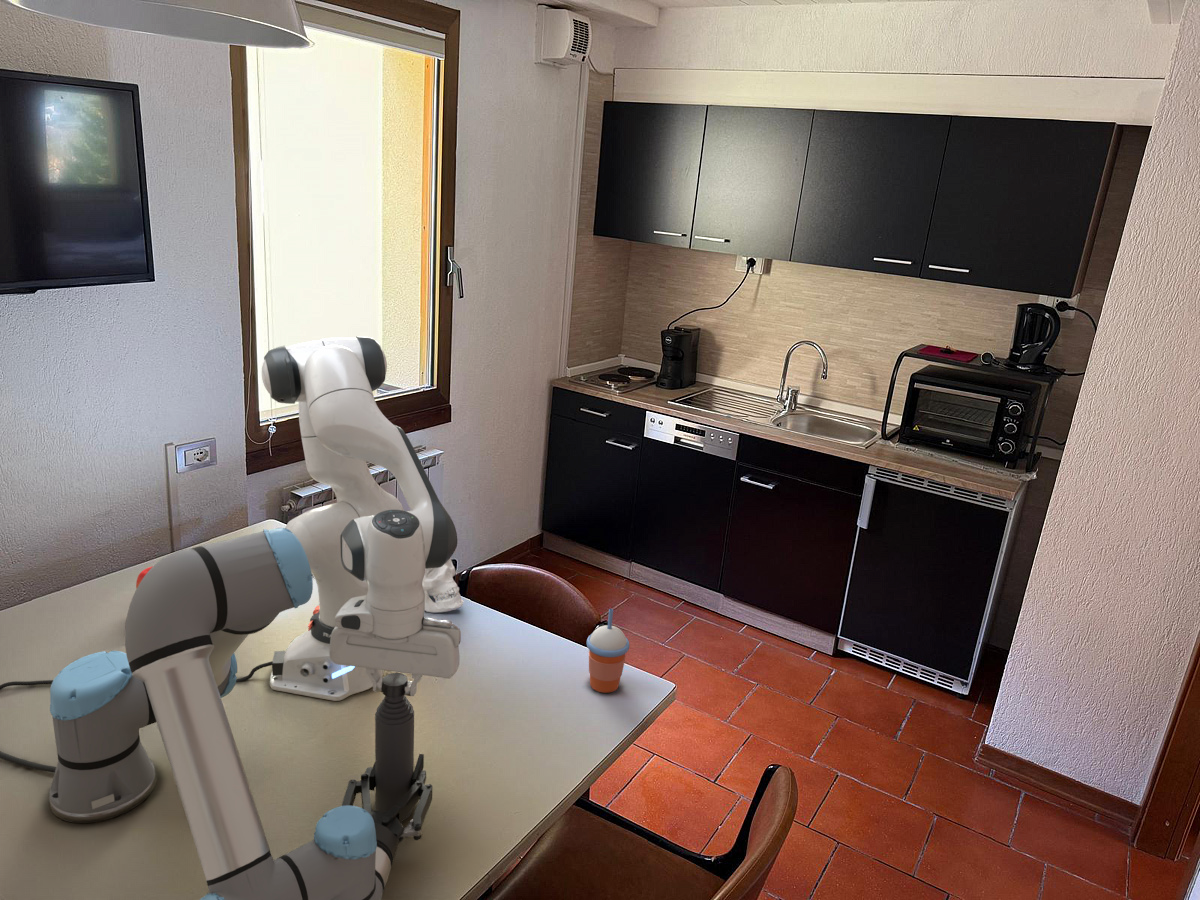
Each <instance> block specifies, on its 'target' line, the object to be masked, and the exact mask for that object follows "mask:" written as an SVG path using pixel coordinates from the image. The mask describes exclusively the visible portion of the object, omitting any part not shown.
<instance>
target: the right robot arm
mask: <svg viewBox="0 0 1200 900" xmlns="http://www.w3.org/2000/svg"><path fill="white" fill-rule="evenodd" d="M387 369H388V362H387V357H386V354H385V352H384V350H383V349H382V346H381V344H380V342H378V341H377V340H376V339H375V338H374V337H370V336H362V335H357V336H355V337H330V338H329V337H327V338H321V339H320V340H319V339H318V340H312V341H306V342H301V343H296V344H292V345H289V346H288V345H287V346H286V345H281V346H277V347H274V348H272V349H269V350H268V351H267V352H266V354H265V355H264V357H263V362H262V365H261V380H262V383H263V386H264V388H265V390H266V391H267V393H268V394H269V396H270V398H271V399H272V400H274V401H275V402H276V403H278V404H279V403H280V404H285V405H286V404H290V405H291V404H292V405H295V404H296V403H298V422H299V430H300V438H301V443H302V448H303V454H304V460H305V461H304V462H305V466H306V471H307V474H308V475H309V477H311V478H312V479H313V480H314V481H316V482H317V483H319V484H323V485H325V486H328V487H330V488H331V489H332V491H333V492H334V495H335V498H336V502H334V503H330V504H327V505H323V506H319V507H316V508H311V509H309V510H307V511H304V512H303V513H301V514H300V515H298V516H295V517H293V518H292V519H290V520H289V521H288V522H287V524H285V525H286V526H285V528H286V529H288V530H290V531H291V532H292V533H293V534H295V536H296V537H297V538H298V539H299V541H300V543H301V544H302V546H303V548H304V551H305V553H306V556H307V558H308V561H309V565H310V569H311V574H312V577H313V578H314V580H315V583H316V587H317V593H318V605H316V607H314V610H313V611H312V615H311V617H310V619H309V623H308V625H307V628H308V629H307V630H306V631H304V632H302V633H301V634H299V635H297V636H296V637H295V638H294V639H293V640H292V641H291V642H290V643H289V644H288V646H287V648H286V649H285V650H274V652H273V657H272V661H268V662H264V663H261V664H258V665H256V666H254V667H253V668H251V671H250V672H249V673H248V674H247V675H245V676H243V677H240V678H237V679H236V683H241V682H246V681H249V680H250V679H251V678H252V677H253V676H254V675H255V673H256V672H257V671H258V670H261V669H264V668H267V667H271V673H270V676H269V686H270V688H271V689H272V690H274V691H278V692H283V693H289V694H295V695H300V696H304V697H305V696H306V697H310V698H315V699H316V698H317V699H322V700H327V701H334V702H339V701H340V702H341V701H342V700H344V699H346V698H348V697H350V696H351V695H355V694H358V693H363V692H364V691H367V690H369V689H371V688H372V691H373V692H377V693H383V692H382V679H383V678H384V671H386V672H392V673H402V674H410V675H411V679H412V680H408V683H407V685H406V686H405V696H406V697H407V696H408V697H415V695H416V693H417V691H418V684H419V682H420V681H421V680H422V678H423V676H424V677H425V676H426V677H434V678H441V679H451V678H452V677H453V676H455V674H456V673H457V671H458V669H459V668H460V661H461V658H460V657H461V656H460V644H461V639H462V633H461V629H460V628H459V626H457V625H456V624H454V623H453V622H452V621H451V620H448V619H443V620H441V619H437V618H432V617H425V593H424V589H423V585H422V582H423V578H424V575H425V569H427V568H439V567H442V566H443V565H444V564H445V563H446V562H447V561H448V560H449V559H450V558H452V556H453V555H454V554H455V551H456V549H457V546H458V533H457V529H456V526H455V523H454V521H453V519H452V517H451V516H450V514H449V512H448V511H447V509H446V508H445V507H444V506H443V504H442V503H441V501H440V499H439V497H438V494H437V493H436V491H435V489H434V486H433V484H432V483H431V480H430V479H429V476H428V474H427V472H426V471H425V468H424V466H423V464H422V462H421V460H420V457H419V456H418V453H417V452H416V450H415V448H414V446H413V444H412V442H411V441H410V439H409V437H408V435H407V433H406V432H405V431H404V430H403V428H401V427H400V426H398V425H396V424H394V423H392V422H391V421H390V420H389V419H388V418H387V417H386V416H385V415H384V414H383V412H382V411H381V409H380V408H379V407H378V404H377V402H376V399H375V396H374V393H373V392H375V391H376V390H378V389H379V388H380V387H381V386H383V384H384V383H385V381H386V376H387V372H388V371H387ZM367 462H368V463H371V464H374V465H377V466H380V467H382V468H384V469H385V470H387V471H388V472H390V473H391V474H392V475H393V477H394V478H395V479H396V483H397V484H398V485H399V488H400V490H401V492H402V494H403V497H404V499H405V501H406V503H407V505H408V508H409V510H404V507H403V505H402V503H401V502H400V501H399V499H398V498H397V497H396V496H395V495H393V494H391V492H387V491H386V490H385V489H384V488H382V487H381V486H380V484H378V483H377V481H376V480H375V478H374V477H373V474H372V473H371V471H370V469H369V466H368V463H367ZM53 680H54V679H51V680H50V679H47V680H45V679H44V680H30V681H25V680H23V681H21V680H18V681H17V680H16V681H7V682H4V683H2V684H0V691H1V690H3V689H4V688H7V687H12V686H38V685H39V686H40V685H41V686H42V685H51V684H52V682H53Z"/></svg>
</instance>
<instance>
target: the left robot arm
mask: <svg viewBox="0 0 1200 900" xmlns="http://www.w3.org/2000/svg"><path fill="white" fill-rule="evenodd" d="M152 566H153V567H152ZM152 566H151V567H152V568H151V569H150V570H149V571H148V572H147V574H146V575H145V576H144V578H143V579H142V581H141V582H140V584H139V586H138V587H137V589H136V588H135V591H134V593H133V596H132V598H131V601H130V603H129V607H128V610H127V615H126V619H125V627H124V647H125V652H124V651H120V650H111V651H109V652H107V651H105V650H103V651H98V652H93V653H90V654H88V655H85V656H82V657H80V658H78V659H76V660H74V661H72V662H71V663H69V664H67V665H66V666H65V667H64V668H62V669H61V670H60V671H59V672H58V674H57V675H56V676H55V677H54V679H52V680H53V682H52V684H50V689H49V692H50V693H49V695H50V696H49V698H50V699H49V701H50V703H49V712H50V715H51V716H52V725H53V732H54V738H55V739H54V741H55V747H56V755H57V764H56V766H54V765H48V764H42V763H37V762H34V761H29V760H26V759H23V758H20V757H17V756H13V755H11V754H8V753H6V752H4V751H1V750H0V759H2V760H4V761H7V762H10V763H13V764H15V765H19V766H22V767H26V768H28V769H29V768H30V769H34V770H38V771H42V772H47V773H52V774H53V778H52V780H51V785H50V789H49V792H48V800H49V806H50V810H51V812H52V814H53V815H55V816H56V817H57V818H58V819H61V820H62V821H65V822H69V823H76V824H88V823H97V822H101V821H106V820H109V819H113V818H115V817H119V816H121V815H124V814H125V813H128V812H129V811H131V810H133V809H134V808H136V807H137V806H139V805H140V804H142V803H143V802H144V801H145V800H146V799H147V798H148V797H150V795H151V794H152V792H153V791H154V789H155V786H156V783H157V773H156V766H155V765H154V761H152V759H151V758H150V757H149V755H148V753H147V750H146V749H145V747H144V745H143V743H142V742H141V737H140V729H142V728H145V727H147V726H151V725H153V724H155V723H156V724H157V727H158V730H159V734H160V737H161V741H162V744H163V747H164V749H165V753H166V756H167V759H168V763H169V766H170V769H171V773H172V775H173V779H174V782H175V785H176V788H177V791H178V795H179V797H180V801H181V804H182V807H183V810H184V814H185V817H186V820H187V824H188V827H189V830H190V832H191V837H192V839H193V843H194V845H195V849H196V852H197V856H198V859H199V862H200V864H201V868H202V871H203V875H204V877H205V882H206V885H207V889H208V893H206V894H205V895H204V896H203V897H201V898H200V899H199V900H382V899H383V895H384V892H385V888H386V885H387V882H388V879H389V876H390V873H391V869H392V867H393V864H394V860H395V857H396V854H397V851H398V848H399V845H400V844H401V842H403V840H404V839H405V838H408V837H409V838H411V837H413V841H420V840H421V839H422V828H423V827H422V826H423V824H424V822H425V819H426V816H427V815H428V814H427V813H428V812H429V808H430V806H431V803H432V800H433V785H432V783H427V784H426V782H427V771H426V770H424V766H425V764H424V763H425V761H424V760H425V754H424V753H419V754H418V757H417V759H416V764H415V767H414V772H413V776H412V779H411V788H410V789H409V790H408V792H407V793H406V794H405V795H404V796H403V798H402V799H401V800H400V801H399V802H398V804H397V805H396V806H395V805H394V806H393V807H392V808H391V810H390V811H389V812H388V811H386V812H379V811H375V810H373V809H372V799H371V791H374V792H375V762H374V763H373V766H368V767H367V768H365V771H364V773H362V774H360V780H356V779H350V780H349V781H348V782H347V787H346V789H345V793H344V796H343V799H342V802H341V805H340V806H336V807H334V808H331V809H329V810H327V811H326V812H325V813H324V814H323V815H322V817H321V818H320V819H319V820H318V821H317V822H316V826H315V831H314V833H313V839H311V840H310V841H308V842H306V843H304V844H302V845H299V846H298V847H297V848H295V849H292V850H291V851H289V852H287V853H285V854H283V855H281V856H279V857H277V858H275V859H274V858H273V855H272V853H271V847H270V845H269V842H268V839H267V835H266V833H265V830H264V826H263V824H262V820H261V817H260V814H259V810H258V809H257V805H256V802H255V798H254V795H253V792H252V790H251V787H250V784H249V780H248V777H247V774H246V771H245V768H244V765H243V762H242V759H241V756H240V753H239V749H238V746H237V743H236V740H235V737H234V733H233V731H232V727H231V725H230V721H229V718H228V716H227V713H226V708H225V706H224V702H223V700H222V698H225V697H226V696H228V695H229V694H230V693H231V692H232V690H234V688H235V686H236V683H237V682H236V679H238V677H237V673H238V662H237V658H236V657H237V656H236V654H235V652H236V651H237V650H238V649H239V648H240V646H241V645H242V643H243V642H244V641H245V640H246V639H247V638H248V636H249V635H253V634H256V633H259V632H260V631H261V632H262V631H263V630H264V629H265V628H267V627H268V626H269V625H270V624H272V622H273V621H274V620H275V619H276V618H277V617H278V615H279V614H280V613H282V612H285V611H288V610H291V609H298V608H299V607H300V606H303V605H305V604H307V603H309V601H310V599H311V598H312V596H313V590H314V588H313V587H314V584H313V583H314V582H313V575H312V573H311V569H310V565H309V561H308V558H307V556H306V553H305V551H304V548H303V546H302V544H301V543H300V541H299V539H298V538H297V537H296V536H295V534H293V533H292V532H291V531H290V530H288V529H286V527H276V528H271V529H266V528H264V529H262V531H259V532H255V533H250V534H245V535H241V536H237V537H233V538H229V539H228V538H227V539H224V540H220V541H216V542H212V543H208V544H203V545H199V546H195V547H192V548H190V547H189V548H188V547H187V548H183V549H180V550H176V551H175V552H172V553H170V554H168V555H166V556H164V557H163V558H161V559H160V560H159V561H158V562H156V563H155V564H154V565H152ZM357 794H360V798H361V807H360V806H358V805H357V806H356V805H354V804H355V800H356V798H357ZM416 804H417V805H416ZM415 805H416V807H415ZM414 807H415V809H414ZM412 808H413V809H414V812H413V816H412V819H410V820H409V822H408V824H407V826H405V827H404V826H403V824H402V822H403V821H404V820H405V819H404V818H405V817H406V815H407V814H408V813H409V812H410V810H411V809H412ZM403 819H404V820H403Z"/></svg>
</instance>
